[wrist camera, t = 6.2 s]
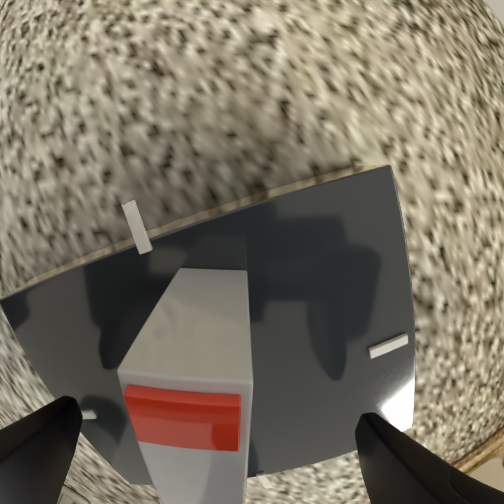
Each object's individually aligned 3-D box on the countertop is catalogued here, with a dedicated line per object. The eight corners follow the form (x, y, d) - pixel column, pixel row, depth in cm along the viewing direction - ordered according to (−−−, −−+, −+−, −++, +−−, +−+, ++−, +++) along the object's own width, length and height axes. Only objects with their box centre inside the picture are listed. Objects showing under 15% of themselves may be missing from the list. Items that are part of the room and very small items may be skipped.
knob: (239, 469, 10) (240, 563, 5) (197, 467, 10) (187, 559, 5) (247, 270, 8) (255, 394, 3) (179, 267, 8) (108, 380, 3)
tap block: (151, 456, 14) (140, 496, 11) (29, 252, 10) (-16, 274, 7) (389, 402, 13) (412, 442, 10) (345, 137, 10) (383, 124, 7)
